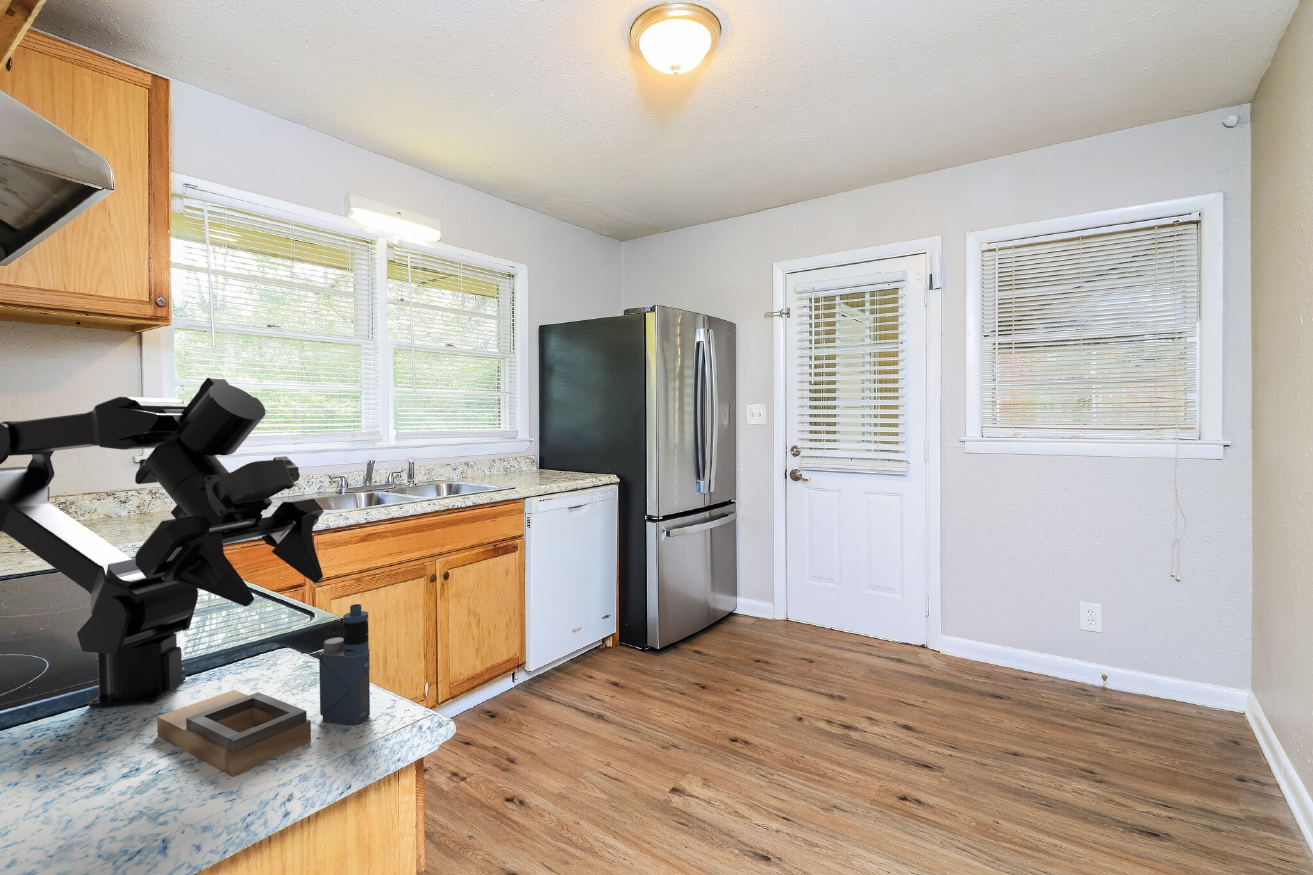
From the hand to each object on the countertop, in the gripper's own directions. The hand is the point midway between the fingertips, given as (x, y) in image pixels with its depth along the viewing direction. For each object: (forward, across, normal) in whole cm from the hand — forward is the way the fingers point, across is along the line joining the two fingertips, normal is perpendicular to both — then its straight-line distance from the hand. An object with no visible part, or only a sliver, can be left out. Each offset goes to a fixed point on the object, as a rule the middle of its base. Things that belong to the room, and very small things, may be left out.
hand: (287, 590), depth 66 cm
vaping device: (+14, 0, +4) cm, 15 cm away
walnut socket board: (+9, -6, +10) cm, 14 cm away
